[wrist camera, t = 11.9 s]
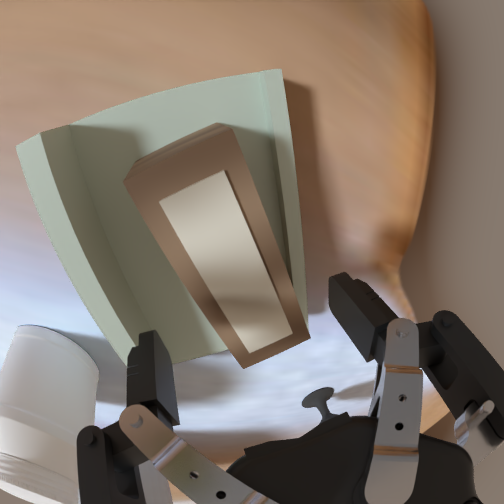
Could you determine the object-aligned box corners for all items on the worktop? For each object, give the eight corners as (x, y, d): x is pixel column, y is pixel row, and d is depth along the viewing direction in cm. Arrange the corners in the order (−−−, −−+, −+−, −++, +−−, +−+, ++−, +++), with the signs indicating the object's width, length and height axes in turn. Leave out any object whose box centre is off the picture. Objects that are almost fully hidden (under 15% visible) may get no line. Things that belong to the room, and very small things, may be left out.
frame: (135, 161, 15) (121, 183, 11) (216, 122, 15) (233, 128, 11) (229, 325, 22) (243, 370, 18) (287, 298, 22) (311, 339, 18)
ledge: (295, 310, 26) (323, 358, 21) (155, 351, 24) (158, 405, 19) (264, 73, 16) (304, 62, 11) (59, 130, 14) (15, 146, 9)
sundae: (306, 387, 34) (353, 483, 21) (345, 380, 36) (395, 464, 24) (288, 412, 37) (326, 499, 24) (326, 406, 39) (366, 483, 26)
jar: (24, 309, 19) (-24, 462, 6) (110, 359, 24) (109, 510, 11) (4, 367, 21) (-21, 480, 8) (72, 403, 26) (68, 515, 13)
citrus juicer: (42, 431, 28) (40, 543, 11) (117, 412, 28) (131, 564, 11) (109, 465, 36) (120, 557, 19) (185, 450, 37) (210, 559, 20)
